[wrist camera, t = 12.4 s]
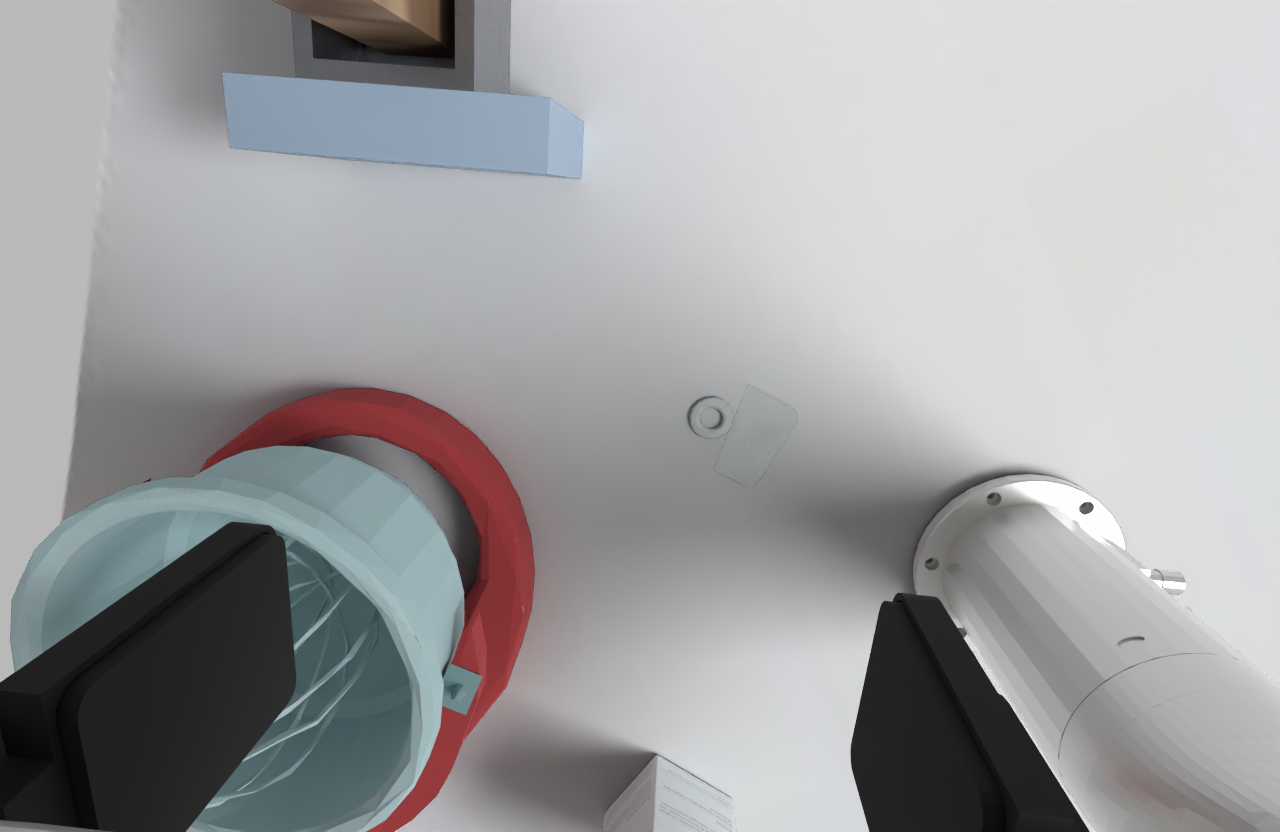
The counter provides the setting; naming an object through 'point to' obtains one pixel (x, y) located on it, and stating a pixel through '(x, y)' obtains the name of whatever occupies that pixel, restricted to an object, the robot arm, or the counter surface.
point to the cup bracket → (472, 69)
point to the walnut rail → (388, 23)
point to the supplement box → (669, 803)
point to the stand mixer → (326, 603)
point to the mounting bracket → (746, 433)
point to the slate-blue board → (403, 125)
